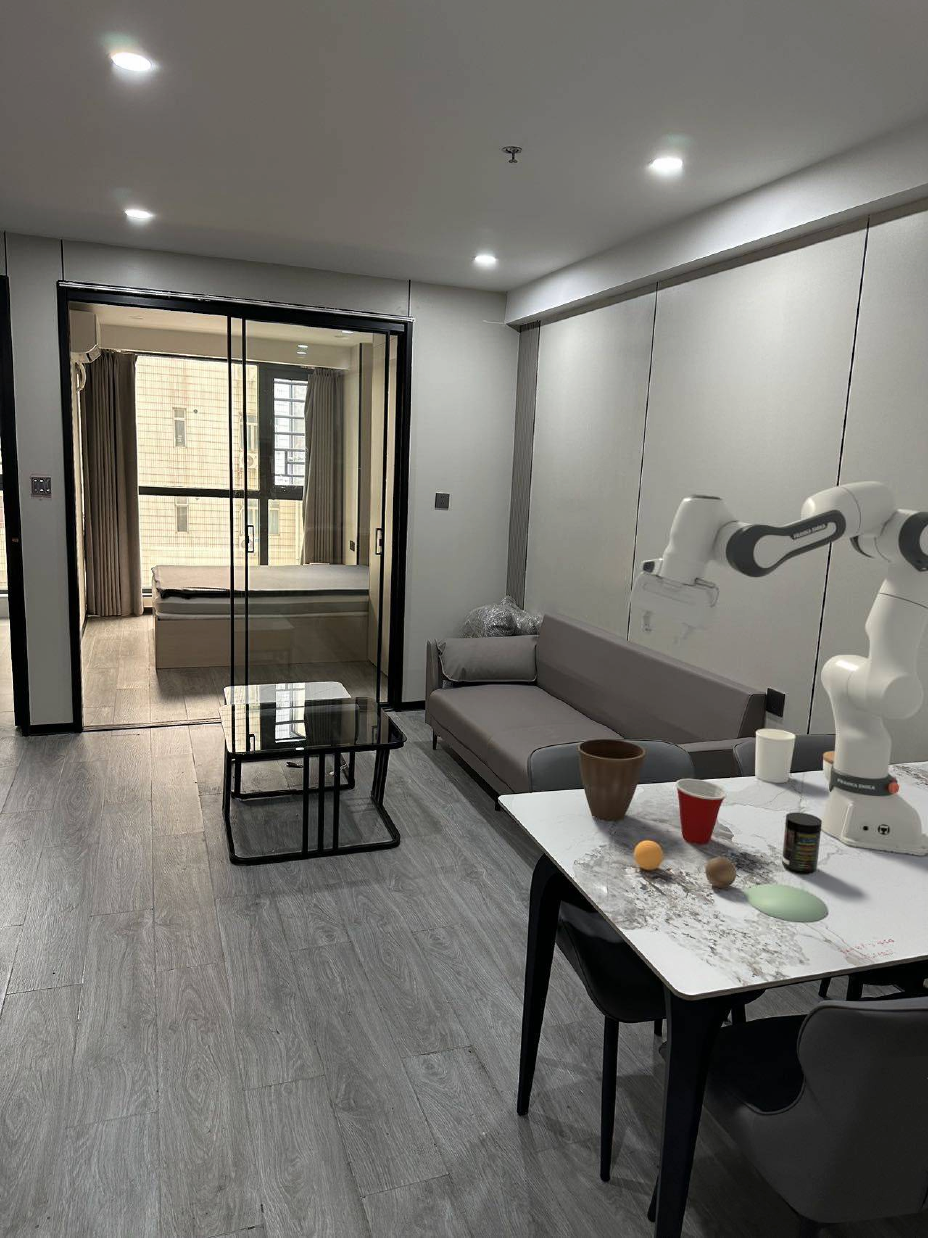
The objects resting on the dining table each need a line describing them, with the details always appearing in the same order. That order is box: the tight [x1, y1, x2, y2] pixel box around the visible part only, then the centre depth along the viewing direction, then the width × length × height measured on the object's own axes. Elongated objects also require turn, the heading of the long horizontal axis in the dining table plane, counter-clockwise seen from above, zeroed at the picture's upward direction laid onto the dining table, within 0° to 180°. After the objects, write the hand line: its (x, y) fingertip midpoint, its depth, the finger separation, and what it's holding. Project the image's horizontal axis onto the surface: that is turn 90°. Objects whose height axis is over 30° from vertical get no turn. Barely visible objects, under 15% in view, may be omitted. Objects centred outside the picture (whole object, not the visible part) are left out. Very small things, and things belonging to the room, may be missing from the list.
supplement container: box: [781, 812, 822, 875], centre depth 171 cm, size 7×7×10 cm
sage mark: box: [745, 883, 828, 923], centre depth 157 cm, size 14×14×1 cm
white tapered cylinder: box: [754, 728, 796, 784], centre depth 225 cm, size 10×10×12 cm
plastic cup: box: [675, 778, 728, 845], centre depth 183 cm, size 11×11×12 cm
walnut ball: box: [704, 856, 737, 889], centre depth 162 cm, size 6×6×6 cm
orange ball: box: [633, 839, 664, 871], centre depth 169 cm, size 6×6×6 cm
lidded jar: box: [822, 750, 835, 783], centre depth 221 cm, size 11×11×9 cm
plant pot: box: [577, 738, 646, 822], centre depth 194 cm, size 15×15×16 cm
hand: (661, 639), depth 173 cm, fingers open, 8 cm apart
